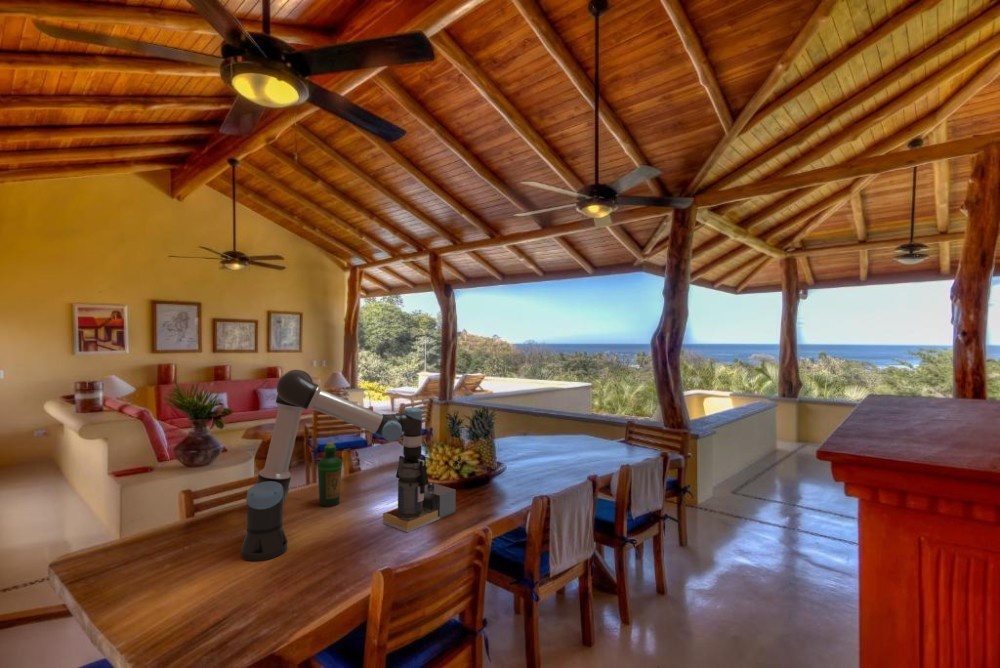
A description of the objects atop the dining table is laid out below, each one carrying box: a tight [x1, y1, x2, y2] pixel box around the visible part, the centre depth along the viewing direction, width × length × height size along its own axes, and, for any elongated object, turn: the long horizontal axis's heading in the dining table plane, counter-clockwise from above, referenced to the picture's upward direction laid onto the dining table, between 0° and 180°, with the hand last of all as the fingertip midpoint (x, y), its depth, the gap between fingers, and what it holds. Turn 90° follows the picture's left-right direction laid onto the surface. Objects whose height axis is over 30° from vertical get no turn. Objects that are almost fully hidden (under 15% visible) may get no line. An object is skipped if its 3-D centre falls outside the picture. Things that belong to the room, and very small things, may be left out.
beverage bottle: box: [397, 453, 427, 518], centre depth 201 cm, size 10×13×25 cm
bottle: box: [317, 441, 343, 507], centre depth 220 cm, size 11×11×28 cm
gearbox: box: [382, 481, 457, 533], centre depth 205 cm, size 28×15×12 cm, turn 143°
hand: (411, 498), depth 201 cm, fingers closed on beverage bottle, 10 cm apart
